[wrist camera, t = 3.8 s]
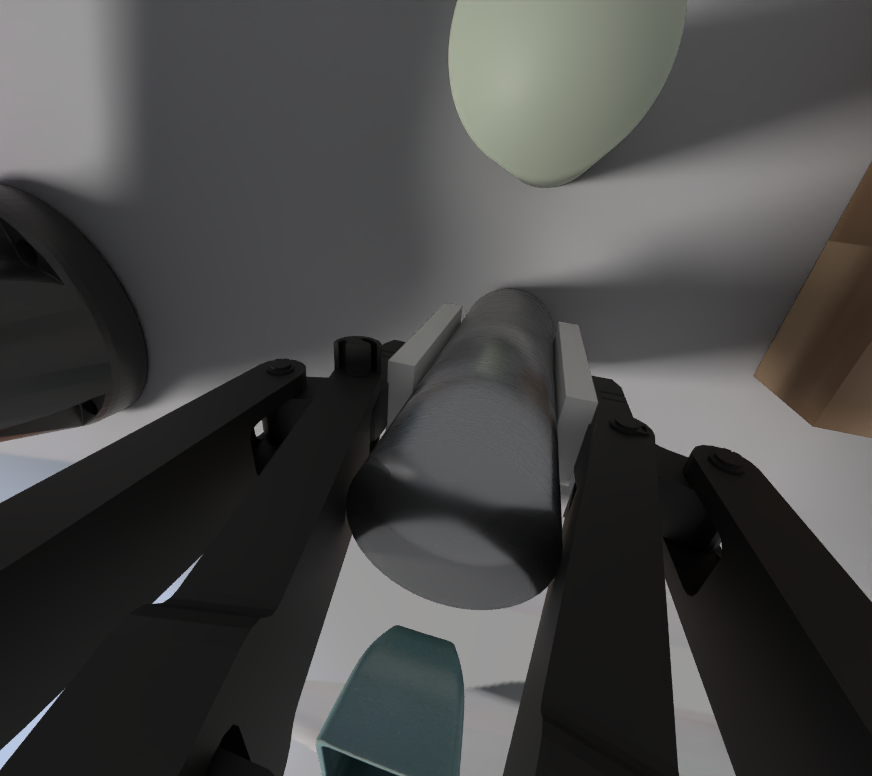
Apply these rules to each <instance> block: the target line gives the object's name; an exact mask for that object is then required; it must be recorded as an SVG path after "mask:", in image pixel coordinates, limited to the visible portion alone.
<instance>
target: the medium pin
mask: <svg viewBox="0 0 872 776" xmlns="http://www.w3.org/2000/svg"><path fill="white" fill-rule="evenodd" d="M686 10H687V0H458V1H457V4H456V7H455V11H454V16H453V20H452V24H451V32H450V39H449V55H448V65H449V79H450V85H451V91H452V96H453V99H454V103H455V106H456V110H457V112H458V115H459V117H460V119H461V122H462V124H463V126H464V127H465V129H466V131H467V133H468V134H469V136H470V137H471V139H472V140H473V141H474V143H475V144H476V145H477V146H478V147H479V148H480V149H481V150H482V151H483V152H484V153H485V154H486V155H487V156H488V157H489V158H491V159H492V160H493V161H495V162H496V163H498V164H499V165H500V166H502V167H503V168H504V169H506V170H507V171H508V172H510V173H511V174H512V175H514V176H515V177H517V178H518V179H519V180H521V181H522V182H524V183H526V184H528V185H531V186H534V187H540V188H551V187H557V186H561V185H564V184H566V183H569V182H571V181H572V180H574V179H576V178H577V177H579V176H580V175H582V174H583V173H584V172H585V171H586V170H588V169H589V168H590V167H591V166H592V165H594V164H595V163H596V162H597V161H598V160H600V159H601V158H602V157H603V156H604V155H606V154H607V153H608V152H609V151H610V150H612V149H613V148H614V147H615V146H616V145H617V144H619V143H620V142H621V141H622V140H623V139H624V138H625V137H626V136H627V135H628V134H629V133H630V132H631V131H632V130H633V129H634V128H635V127H636V126H637V125H638V123H639V122H640V121H641V120H642V119H643V117H644V116H645V115H646V113H647V112H648V111H649V109H650V108H651V106H652V105H653V103H654V102H655V100H656V98H657V97H658V95H659V93H660V92H661V90H662V88H663V86H664V84H665V82H666V80H667V78H668V76H669V74H670V72H671V69H672V67H673V64H674V61H675V58H676V56H677V53H678V50H679V46H680V42H681V38H682V34H683V30H684V24H685V17H686Z"/></svg>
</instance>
